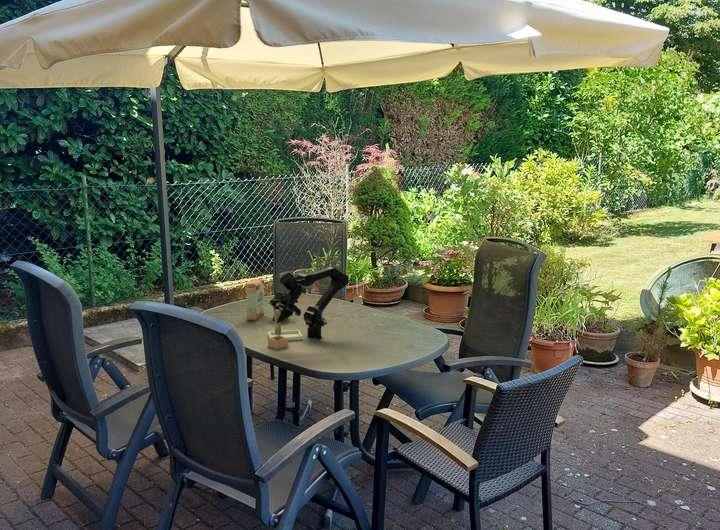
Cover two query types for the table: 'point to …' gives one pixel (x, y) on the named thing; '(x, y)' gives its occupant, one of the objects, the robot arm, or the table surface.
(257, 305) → the cracker box
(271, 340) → the pin cup
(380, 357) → the table surface
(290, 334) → the tray
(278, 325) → the dowel pin
